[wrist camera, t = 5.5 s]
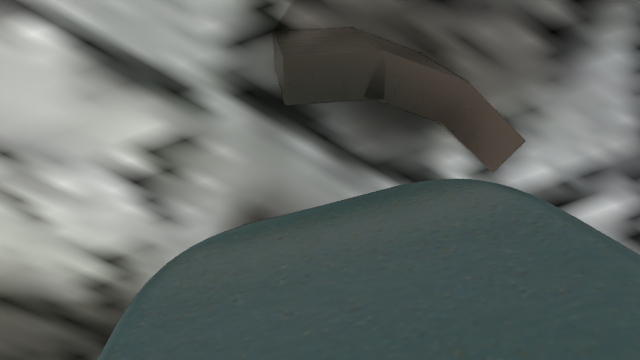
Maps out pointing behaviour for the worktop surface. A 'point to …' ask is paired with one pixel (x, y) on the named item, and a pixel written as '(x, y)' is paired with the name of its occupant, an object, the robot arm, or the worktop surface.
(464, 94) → the holder
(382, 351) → the flower pot
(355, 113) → the worktop surface
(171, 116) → the worktop surface
